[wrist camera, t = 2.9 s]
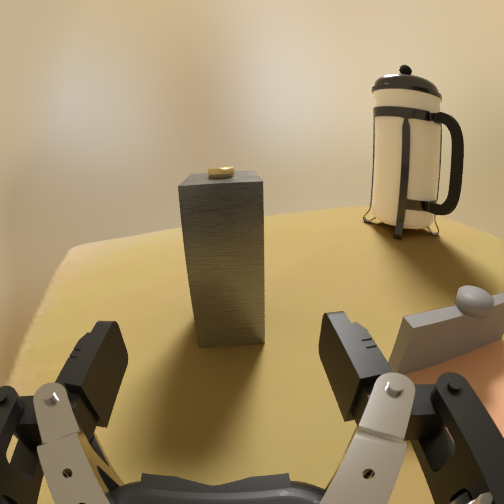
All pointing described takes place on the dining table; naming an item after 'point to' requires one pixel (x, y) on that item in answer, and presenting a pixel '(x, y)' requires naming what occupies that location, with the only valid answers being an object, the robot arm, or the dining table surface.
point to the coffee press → (411, 153)
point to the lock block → (225, 255)
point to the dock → (457, 346)
